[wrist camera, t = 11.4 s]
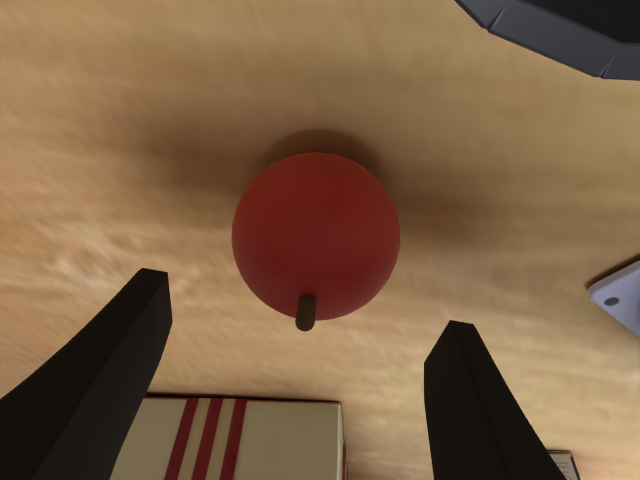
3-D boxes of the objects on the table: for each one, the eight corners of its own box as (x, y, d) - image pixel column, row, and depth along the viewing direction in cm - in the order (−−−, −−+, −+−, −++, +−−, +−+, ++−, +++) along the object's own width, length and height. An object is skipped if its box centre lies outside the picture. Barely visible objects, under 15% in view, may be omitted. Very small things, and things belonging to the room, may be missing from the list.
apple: (427, 180, 15) (452, 327, 11) (334, 260, 18) (322, 401, 14) (306, 88, 13) (274, 218, 9) (223, 194, 16) (169, 331, 12)
